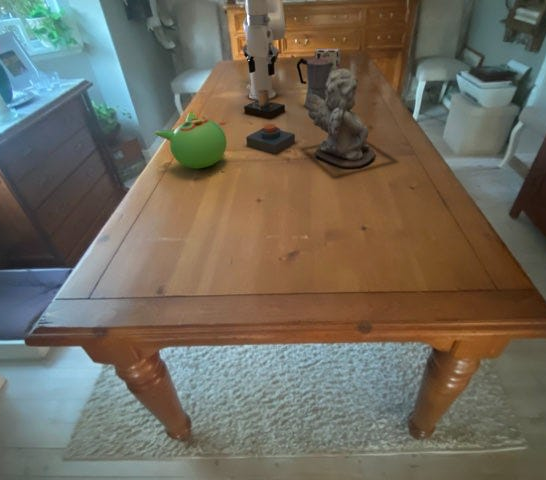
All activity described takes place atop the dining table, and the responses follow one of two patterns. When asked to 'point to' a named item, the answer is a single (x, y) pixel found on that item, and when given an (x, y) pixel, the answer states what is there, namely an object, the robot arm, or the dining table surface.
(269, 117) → the panel
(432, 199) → the dining table surface
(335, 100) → the angel statue
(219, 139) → the toy bird
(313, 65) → the moka pot
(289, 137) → the dark piece
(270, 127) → the release button
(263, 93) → the tan wooden block
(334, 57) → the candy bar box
